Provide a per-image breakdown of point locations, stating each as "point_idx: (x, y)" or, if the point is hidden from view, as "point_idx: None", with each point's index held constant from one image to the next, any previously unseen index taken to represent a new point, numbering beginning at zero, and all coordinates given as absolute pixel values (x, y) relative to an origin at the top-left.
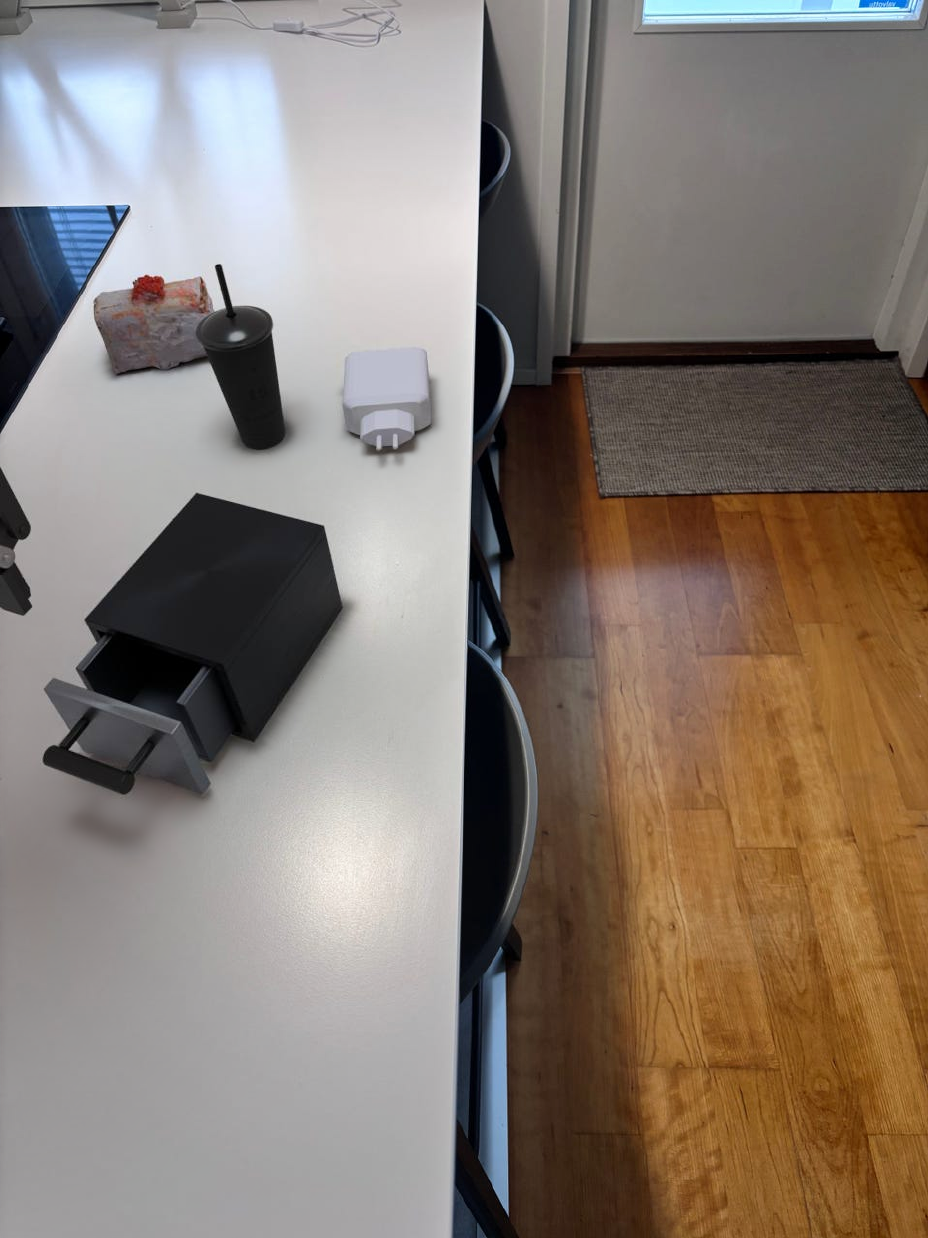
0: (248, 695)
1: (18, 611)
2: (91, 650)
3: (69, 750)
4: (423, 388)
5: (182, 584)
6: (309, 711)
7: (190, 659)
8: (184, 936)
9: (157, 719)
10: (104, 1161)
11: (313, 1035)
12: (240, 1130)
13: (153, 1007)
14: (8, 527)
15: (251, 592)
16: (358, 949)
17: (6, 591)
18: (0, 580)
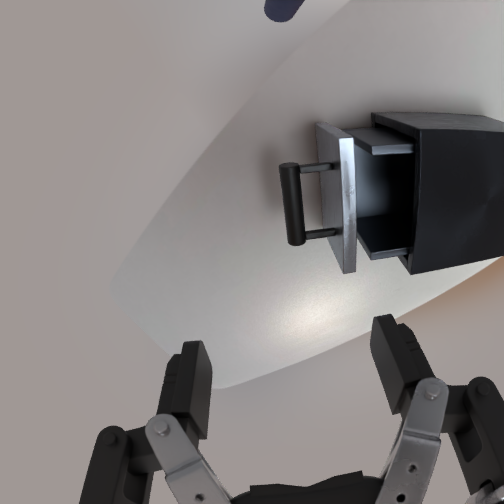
0: None
1: (372, 346)
2: (394, 145)
3: (299, 182)
4: None
5: (473, 190)
6: None
7: (410, 239)
8: (241, 271)
9: (351, 255)
10: (143, 305)
11: (237, 342)
12: (189, 339)
13: (202, 282)
14: (453, 440)
15: (473, 247)
16: (281, 338)
17: (384, 377)
18: (390, 398)
